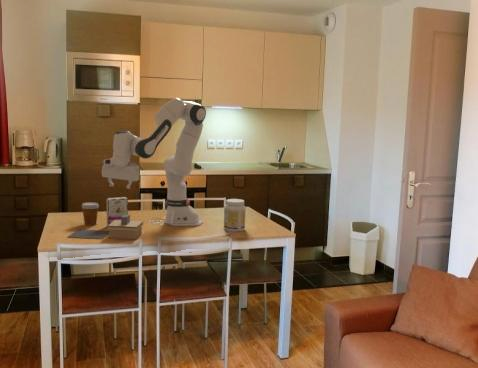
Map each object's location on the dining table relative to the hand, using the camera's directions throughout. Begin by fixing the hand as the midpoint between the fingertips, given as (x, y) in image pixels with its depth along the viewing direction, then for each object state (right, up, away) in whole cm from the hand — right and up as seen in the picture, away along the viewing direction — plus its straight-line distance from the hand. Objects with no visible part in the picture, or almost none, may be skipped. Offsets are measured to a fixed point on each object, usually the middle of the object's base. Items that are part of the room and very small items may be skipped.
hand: (119, 187), depth 258 cm
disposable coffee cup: (-22, -21, +21) cm, 37 cm away
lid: (+3, -21, -1) cm, 21 cm away
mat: (-16, -25, 0) cm, 29 cm away
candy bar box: (-6, -22, +19) cm, 30 cm away
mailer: (+3, -25, -1) cm, 26 cm away
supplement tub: (+60, -24, +21) cm, 68 cm away
